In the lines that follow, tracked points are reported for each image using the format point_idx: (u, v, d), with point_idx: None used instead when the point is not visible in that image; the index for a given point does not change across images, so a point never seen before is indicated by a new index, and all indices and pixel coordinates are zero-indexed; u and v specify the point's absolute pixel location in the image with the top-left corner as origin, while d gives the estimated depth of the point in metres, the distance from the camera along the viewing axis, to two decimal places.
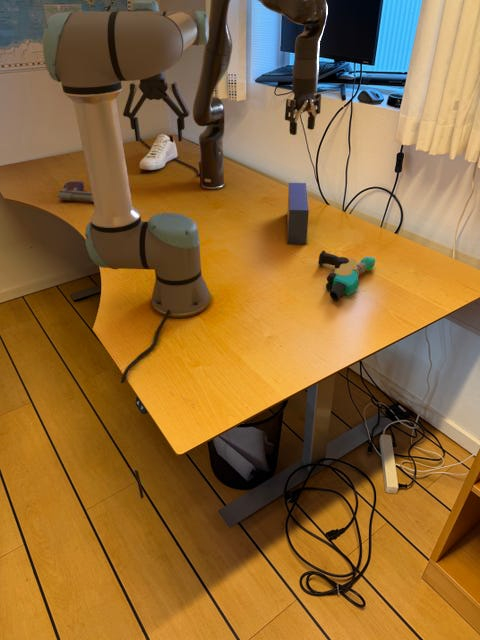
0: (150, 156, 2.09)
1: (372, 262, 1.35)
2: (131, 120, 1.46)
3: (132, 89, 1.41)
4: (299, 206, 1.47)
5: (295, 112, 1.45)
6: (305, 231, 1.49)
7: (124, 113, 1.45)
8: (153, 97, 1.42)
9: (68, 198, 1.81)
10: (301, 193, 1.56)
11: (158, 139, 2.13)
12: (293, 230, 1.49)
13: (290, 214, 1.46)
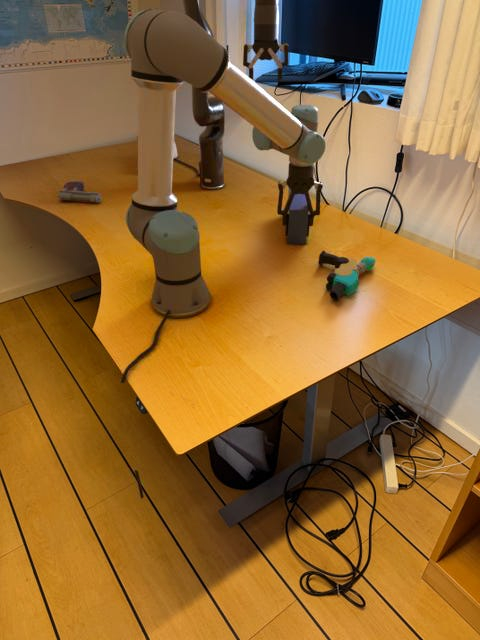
0: None
1: (372, 262, 1.35)
2: (284, 217, 1.50)
3: (281, 188, 1.44)
4: (299, 206, 1.47)
5: (253, 58, 1.49)
6: (305, 231, 1.49)
7: (278, 212, 1.48)
8: (299, 192, 1.44)
9: (68, 198, 1.81)
10: None
11: None
12: (293, 230, 1.49)
13: (290, 214, 1.46)
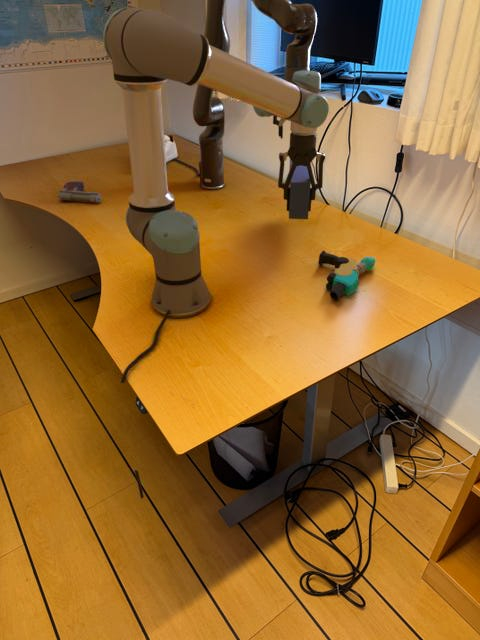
0: None
1: (372, 262, 1.35)
2: (285, 191, 1.44)
3: (282, 160, 1.38)
4: (301, 179, 1.42)
5: None
6: (307, 205, 1.44)
7: (279, 185, 1.43)
8: (301, 163, 1.39)
9: (68, 198, 1.81)
10: (302, 167, 1.51)
11: None
12: (295, 204, 1.44)
13: (291, 187, 1.41)
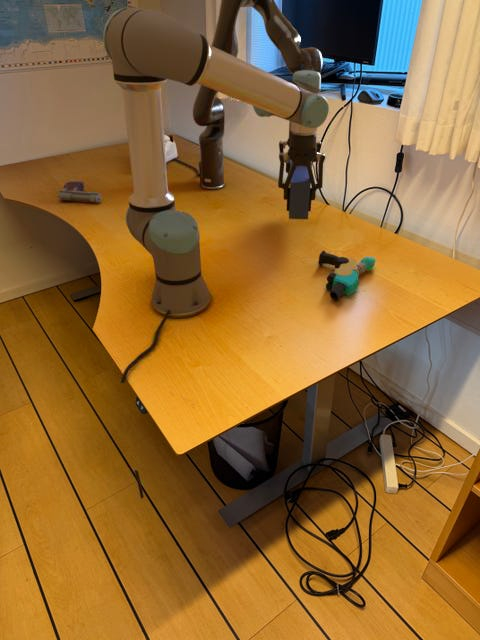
0: None
1: (372, 262, 1.35)
2: (285, 191, 1.44)
3: (282, 160, 1.38)
4: (301, 179, 1.42)
5: None
6: (307, 205, 1.44)
7: (279, 185, 1.43)
8: (301, 163, 1.39)
9: (68, 198, 1.81)
10: (302, 167, 1.51)
11: None
12: (295, 204, 1.44)
13: (291, 187, 1.41)
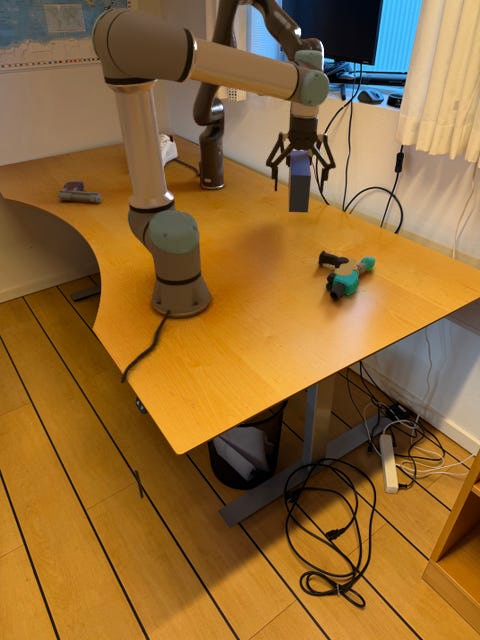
0: None
1: (372, 262, 1.35)
2: (273, 170, 1.39)
3: (280, 139, 1.33)
4: (301, 171, 1.41)
5: None
6: (307, 198, 1.43)
7: (267, 163, 1.37)
8: (301, 148, 1.34)
9: (68, 198, 1.81)
10: (303, 160, 1.50)
11: None
12: (295, 197, 1.43)
13: (292, 180, 1.40)
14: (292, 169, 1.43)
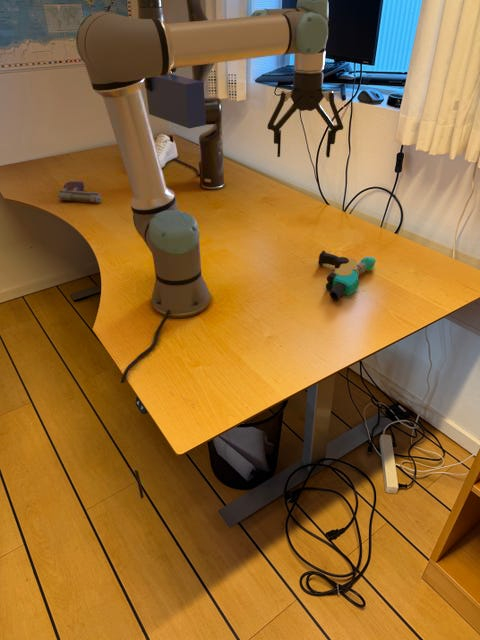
0: None
1: (372, 262, 1.35)
2: (275, 133, 1.29)
3: (283, 99, 1.23)
4: (189, 81, 1.33)
5: None
6: (203, 109, 1.36)
7: (269, 126, 1.27)
8: (306, 108, 1.24)
9: (68, 198, 1.81)
10: (172, 76, 1.40)
11: (158, 139, 2.13)
12: (193, 110, 1.34)
13: (187, 90, 1.30)
14: (177, 81, 1.33)
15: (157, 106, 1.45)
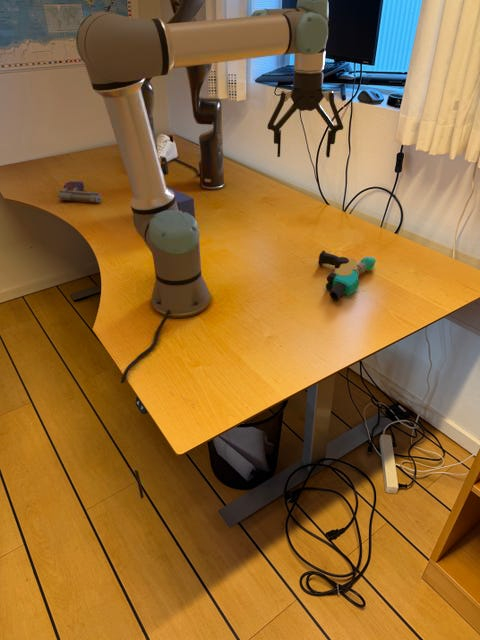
0: None
1: (372, 262, 1.35)
2: (275, 133, 1.29)
3: (283, 99, 1.23)
4: (181, 197, 1.54)
5: None
6: None
7: (269, 126, 1.27)
8: (306, 108, 1.24)
9: (68, 198, 1.81)
10: None
11: (158, 139, 2.13)
12: None
13: (180, 206, 1.52)
14: None
15: None
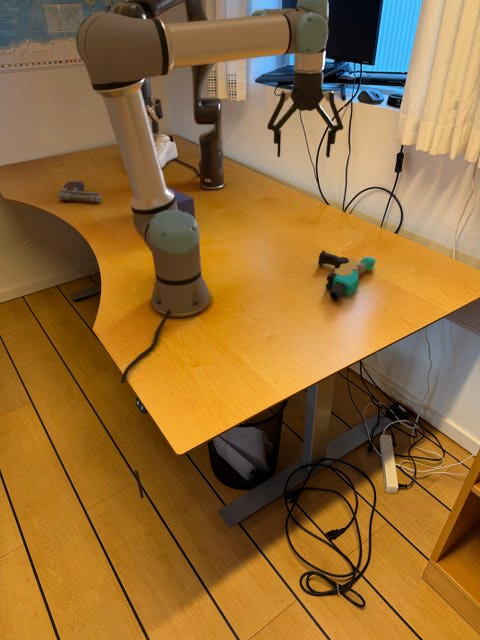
0: None
1: (372, 262, 1.35)
2: (275, 133, 1.29)
3: (283, 99, 1.23)
4: (181, 197, 1.54)
5: None
6: None
7: (269, 126, 1.27)
8: (306, 108, 1.24)
9: (68, 198, 1.81)
10: None
11: (158, 139, 2.13)
12: None
13: (180, 206, 1.52)
14: None
15: None
